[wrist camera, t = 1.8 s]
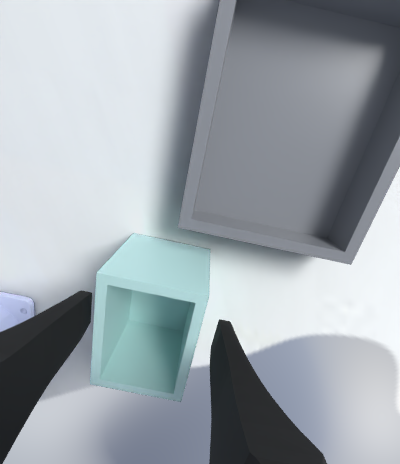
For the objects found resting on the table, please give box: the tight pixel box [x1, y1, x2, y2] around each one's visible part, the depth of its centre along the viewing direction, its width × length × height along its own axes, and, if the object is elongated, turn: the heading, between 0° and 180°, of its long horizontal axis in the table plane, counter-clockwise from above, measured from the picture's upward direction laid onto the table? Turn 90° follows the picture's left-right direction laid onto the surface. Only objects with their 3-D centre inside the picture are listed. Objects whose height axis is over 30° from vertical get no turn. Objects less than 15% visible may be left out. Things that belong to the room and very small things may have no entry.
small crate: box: [90, 233, 210, 402], centre depth 14 cm, size 5×7×5 cm
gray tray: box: [178, 0, 400, 265], centre depth 11 cm, size 9×11×2 cm
